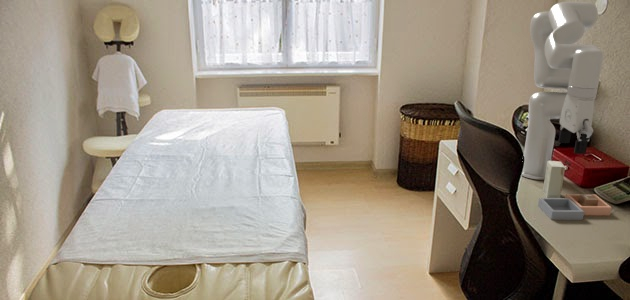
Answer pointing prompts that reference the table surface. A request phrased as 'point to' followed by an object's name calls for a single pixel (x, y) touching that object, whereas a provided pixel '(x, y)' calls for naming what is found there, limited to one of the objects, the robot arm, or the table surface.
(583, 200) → the letter cube
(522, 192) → the table surface
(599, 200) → the bin terracotta
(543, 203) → the bin grey
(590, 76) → the robot arm
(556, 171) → the skincare box
